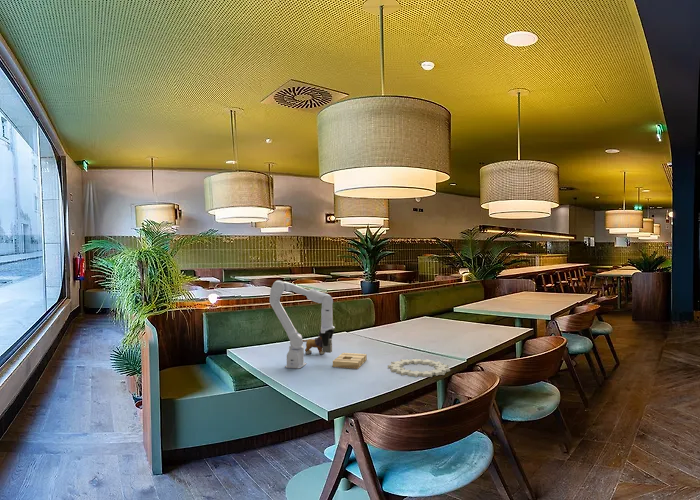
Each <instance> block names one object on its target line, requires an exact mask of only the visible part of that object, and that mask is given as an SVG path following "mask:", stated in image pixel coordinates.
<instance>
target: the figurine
mask: <svg viewBox="0 0 700 500" xmlns="http://www.w3.org/2000/svg"><path fill="white" fill-rule="evenodd" d="M319 332H321V329H320V331H319ZM302 340H303V343H305V347H306V348H304V352H305V354H306V355H310V354H311V353H313V351H312V350H311V349H313V348H317V350H318V351H317V352H318V353H319V355H325V354H326V353H325V352H323V348H322V344H323V342H322V338H321V336H320V334H319V333H318V335H317V337H315V338H314V339H312V338H310V339H309V338H308V339H302Z"/></svg>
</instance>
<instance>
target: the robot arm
mask: <svg viewBox="0 0 700 500" xmlns="http://www.w3.org/2000/svg"><path fill="white" fill-rule="evenodd" d="M284 292H285V293H289V292H294V293H296V294H300V295H302V296H306V298H307V300H308V301H311V302H315V303H318V304H321V313H320V315H321V319H320V321H321V323H320V324H321V325H320V330H321V332H320V331H319V332H318V335H319V334H320V336H321V338H322V342H323V346H328V342H329V338H331V339H333V335H334V332H335V331H336V330H335V328H336V327H335V326H334V324H333V323H334V320H333V317H334V316H333V314H334V313H333V305H334V304H333V303H334V300H333V297H332V296H331V294H328V293H326V292H324V291H323V292H322V291H319V290H317V288H310V289H306V288H304V287H301V286H300V285H299V286H298V285H297V284H294V283H291V282H288V281H283V280H281V279H277V280H275V281H274V282H273V284H272V285H271V287H270V290H269V304H270V306H271V307H272V310H273V311H274V313H275V315H276V317H277V318H278V320H279V322H280V324H281V325H282V328H283V329H284V331H285V332H286V336H287V337H288V339H289V347H288V349H289V351H288V352H287V353H286V365H284V368H288V369H289V368H290V369H301V368H303V367H304V366H306V365H307V362H304V361H305V359H304V356H305V355H304V352H305V347H304V346H303V344H304V342H303V340H304V339H303V336H302V334H301V333H299V332H298V330H297V328H295V326H294V324H293V323H292V321H291V318H290V317H289V316H288V313H287V312H286V310H285V308H284V306H283V305H282V303H281V301H280V299H281V296H282V294H283V293H284ZM320 336H319V337H320Z"/></svg>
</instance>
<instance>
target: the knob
mask: <svg viewBox="0 0 700 500" xmlns="http://www.w3.org/2000/svg"><path fill="white" fill-rule="evenodd" d="M332 339H333V338H332ZM332 339H331V338H329V342H328V346H323V344H322V351H323V352H325V353H324V354H326V353H327V354H328V353H330V354H331V353H332V352H333V341H332Z"/></svg>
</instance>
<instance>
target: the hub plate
mask: <svg viewBox="0 0 700 500" xmlns="http://www.w3.org/2000/svg"><path fill="white" fill-rule="evenodd" d="M367 355H368V354H367V353H355V352H354V353H352V352H342V353H341V354H340V355H338V356H337V357H336V358H334V359H332V367H333V368H339V369H340V368H341V369H357V370H358V369H359V368H360V367H361V366H362V365H363V364H364V363H365V362H366V361H367Z"/></svg>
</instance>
